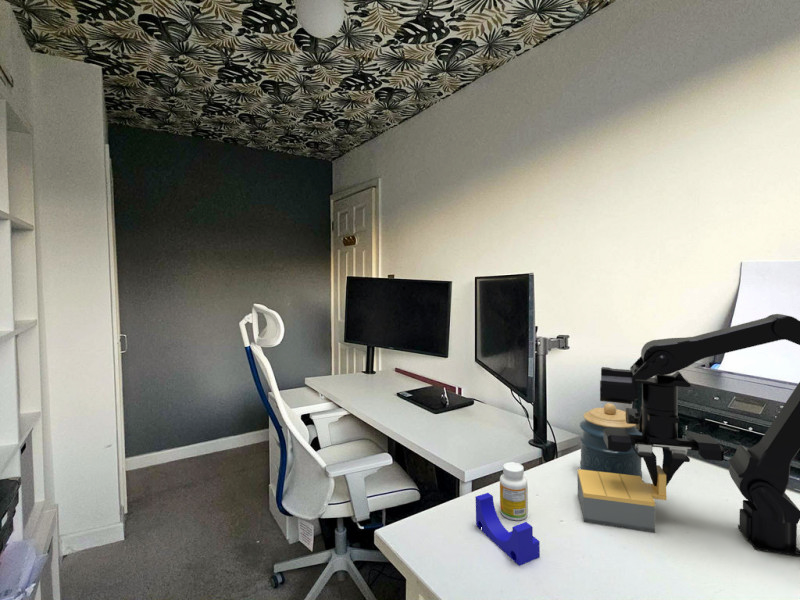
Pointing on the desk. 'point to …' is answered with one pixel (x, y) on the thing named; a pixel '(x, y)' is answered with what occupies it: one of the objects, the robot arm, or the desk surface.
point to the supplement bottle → (513, 492)
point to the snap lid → (622, 487)
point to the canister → (594, 446)
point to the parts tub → (616, 513)
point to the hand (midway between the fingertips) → (659, 485)
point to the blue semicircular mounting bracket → (506, 532)
